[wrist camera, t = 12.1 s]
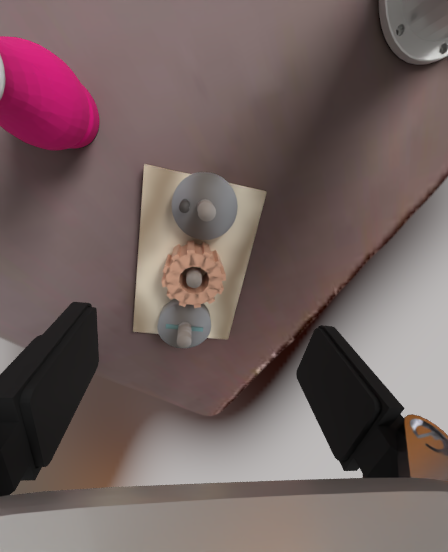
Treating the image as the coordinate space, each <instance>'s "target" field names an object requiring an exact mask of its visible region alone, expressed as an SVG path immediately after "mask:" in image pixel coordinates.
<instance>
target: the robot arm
mask: <svg viewBox="0 0 448 552" xmlns="http://www.w3.org/2000/svg"><path fill="white" fill-rule="evenodd" d="M379 15H380V22H381V28H382V31H383V33H384V36H385V39H386V41H387V43H388V45H389V46H390V48H391V50H392V51H393V52H394V53H395V54H396V55H397V56H398V57H399V58H400V59H402V60H404V61H406V62H407V63H411V64H416V65H422V64H429V63H433V62H436V61H439V60H441V59H443V58H445V57H447V56H448V0H379ZM98 362H99V355H98V333H97V311H96V308H94V307H92V305H91V304H90V303H81V302H73V303H71V304H70V305H69V307H68V308H67V309H66V310H65V311H64V312H63V313H62V314H61V315H60V316H59V317H58V319H57V320H56V321H55V322H54V323H53V324H52V325H51V326H50V327H49V328H48V329H47V330H46V332H45V333H44V334H43V335H40V336H37V337H36V338H35V339H34V340H33V341H32V342H31V343H30V344H29V345H28V346H27V347H26V348H25V349H24V350H23V351H22V352H21V353H20V354H19V356H18V357H17V358H16V359H15V360H14V361H13V362H12V363H11V364H10V365H9V366H8V367H7V368H6V369H5V370H4V371H3V373H1V375H0V552H448V435H447V434H446V433H445V432H444V431H443V430H441V429H440V428H439V427H438V426H436V425H435V424H433V423H432V422H430V421H429V420H427V419H425V418H422V417H420V416H417V415H413V414H412V415H407V416H406V417H405V418H403V417H402V416H401V412H402V411H403V410H404V407H403V406H402V405H401V404H400V403H399V402H398V401H397V399H396V398H395V397H394V396H393V395H392V393H390V391H389V390H388V389H387V388H386V386H385V385H384V384H383V383H382V382H381V381H380V380H379V378H378V377H377V376H376V375H375V374H374V373H373V371H372V370H371V369H370V368H369V367H368V366H367V364H366V363H365V362H364V361H363V360H362V359H361V358H360V356H359V355H358V354H357V353H356V352H355V351H354V350H353V348H352V347H351V346H350V345H349V344H348V342H347V341H346V340H345V339H344V338H343V337H342V336H341V334H340V333H339V332H338V331H337V330H336V329H335V328H334V327H332V326H319V327H318V328H316V329H315V330H314V333H313V335H312V337H311V339H310V342H309V344H308V346H307V349H306V351H305V353H304V355H303V358H302V360H301V363H300V365H299V367H298V369H297V379H298V381H299V383H300V386H301V387H302V389H303V392H304V394H305V396H306V398H307V400H308V402H309V404H310V406H311V409H312V411H313V413H314V415H315V417H316V419H317V421H318V423H319V425H320V427H321V429H322V432H323V434H324V436H325V438H326V440H327V442H328V444H329V446H330V448H331V450H332V453H333V454H334V456H335V458H336V459H337V460H339V461H340V463H341V465H342V467H343V470H344V471H355V470H356V471H357V470H358V469H359V467H360V469H361V471H362V473H363V478H350V479H318V480H286V481H258V482H231V483H204V484H180V485H158V486H157V485H156V486H133V487H111V488H110V487H109V488H93V489H77V490H60V491H47V492H45V491H44V492H35V493H27V494H17V495H10V494H11V493H12V492H13V491H15V489H16V488H17V486H18V484H19V482H20V481H21V480H35V479H36V477H37V475H38V473H39V471H40V470H41V468H42V467H46V466H47V465H48V464H49V463H50V461H51V460H52V458H53V456H54V454H55V451H56V450H57V448H58V445H59V444H60V442H61V439H62V438H63V436H64V434H65V432H66V430H67V428H68V425H69V424H70V422H71V419H72V417H73V415H74V413H75V411H76V409H77V407H78V405H79V403H80V401H81V399H82V397H83V395H84V393H85V391H86V389H87V387H88V385H89V383H90V381H91V379H92V377H93V375H94V373H95V371H96V369H97V366H98Z"/></svg>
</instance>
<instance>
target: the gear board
mask: <svg viewBox="0 0 448 552" xmlns="http://www.w3.org/2000/svg"><path fill="white" fill-rule="evenodd" d="M266 193H267V191H263V190H258V189H254V188H249V187H245V186H240V185H236V184H232V183H228V182H227V181H226V180H225V179H224V178H222V177H221V176H219V175H217V174H214V173H210V172H198V173H194V174H187V173H183V172H178V171H174V170H169V169H165V168H161V167H156V166H152V165H147V164H144V174H143V189H142V204H141V219H140V234H139V249H138V264H137V278H136V293H135V308H134V323H133V332H143V333H155V334H159V335H160V337H161V339H162V340H163V341H164V342H166V343H167V344H169V345H171V346H173V347H176V348H191V347H194V346H197V345H199V344H201V343H202V342H203V341H204V340H205V339H206V338H215V339H227V340H228V337H229V333H230V329H231V326H232V322H233V318H234V314H235V310H236V307H237V303H238V299H239V295H240V292H241V288H242V284H243V280H244V276H245V273H246V269H247V265H248V261H249V257H250V254H251V250H252V246H253V242H254V239H255V235H256V231H257V227H258V223H259V220H260V216H261V212H262V208H263V205H264V201H265V197H266ZM190 240H194V244H200V245H202V243H203V242H205V243H207V244H209V248H210V250H211V251H212V252H213V251H214V250H216V251H217V253H218V254H219V257H220V260H221V262H222V265H223V268H224V271H225V274H226V281H222V283H223V287H224V290H223V292H222V294H219V293H217V294H216V295H215V297H214V298H215V301H214V302H212V303H211V304H209V303H208V302H205V303H202V304H201V307H199V308H194V305H190V304H186V306H185V307H183V306H181V305H179V301H178V300H177V299H175V298H173V299H172V300H171V299H170V298H169V297H168V296H167V291H168V289H167V287H162V277H163V273H164V272H163V268H164V265H165V261H166V258H167V256H168V254H170V255H172V253H173V249H174V247H175V246H177V245H178V244H180V246H184V245H187V241H190ZM205 273H206V271H205V270H203V269H202V268H200V267H190V268H187V269H185V270H184V271H183V272H182V274H183V275H184V276H185V277H186V283H187V285H188V286H189V287H191V288H197V287H199V286H200V285H201V283H202V277H203V276H204V275H205Z"/></svg>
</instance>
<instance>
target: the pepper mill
mask: <svg viewBox="0 0 448 552" xmlns="http://www.w3.org/2000/svg"><path fill="white" fill-rule="evenodd" d="M0 126H1V127H2V128H3V129H5V130H6V131H7V132H9V133H10V134H12V135H13V136H15V137H17V138H18V139H20V140H22V141H24V142H25V143H28V144H30V145H33V146H36V147H39V148H43V149H47V150H63V149H68V148H81V147H84V146H86V145H88V144H89V143H91V142H92V141H93V139H94V138H95V136H96V134H97V132H98V128H99V114H98V110H97V106H96V104H95V102H94V100H93V98H92V96H91V95H90V93H89V92H88V90H87V89H86V88H85V87H84V86H83V85H82V84H81V83H80V81H79V80H78V78H77V77H76V75H75V74H74V73H73V71H72V70H71V69H70V68H69V67H68V66H67V65H66V64H65V63H64V62H63V61H62V60H61V59H60V58H59V57H57V56H56V55H55V54H53V53H52V52H50V51H49V50H47V49H45V48H44V47H42V46H40V45H39V44H36V43H34V42H31V41H28V40H25V39H21V38H17V37H3V36H2V37H0Z"/></svg>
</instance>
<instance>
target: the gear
mask: <svg viewBox="0 0 448 552" xmlns="http://www.w3.org/2000/svg"><path fill="white" fill-rule="evenodd" d="M190 267H200V268H202V269H203V270H205V271H206V273H205V275H204V276H203V277H202V283H201V285H200V286H199V287H197V288H191V287H189V286H188V285H187V283H186V277H185V276H184V275H183V274H182V272H183V271H184V270H185V269H187V268H190ZM163 272H164V273H163V277H162V287H167V289H168V291H167V296H168V297H169V298H170V299H171V300H172V299H173V298H175V299H177V300H178V301H179V305H181V306H183V307H185V306H186V304H190V305H194V308H199V307H201V304H202V303H205V302H208V303H209V304H211V303H212V302H214V301H215V298H214V297H215V295H216V294H217V293H219V294H222V292H223V290H224V287H223V283H222V281H226V274H225V271H224V268H223V265H222V262H221V260H220V257H219V254H218V253H217V251H216V250H214V251H213V252H212V251H211V250H210V248H209V244H207V243H205V242H203V243H202V245H200V244H194V240H190V241H187V245H184V246H180V244H178V245H177V246H175V247H174V249H173V253H172V255H170V254H168V256H167V258H166V261H165V265H164V268H163Z"/></svg>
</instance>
